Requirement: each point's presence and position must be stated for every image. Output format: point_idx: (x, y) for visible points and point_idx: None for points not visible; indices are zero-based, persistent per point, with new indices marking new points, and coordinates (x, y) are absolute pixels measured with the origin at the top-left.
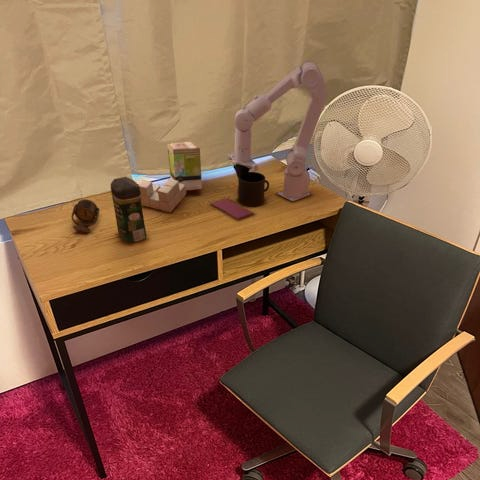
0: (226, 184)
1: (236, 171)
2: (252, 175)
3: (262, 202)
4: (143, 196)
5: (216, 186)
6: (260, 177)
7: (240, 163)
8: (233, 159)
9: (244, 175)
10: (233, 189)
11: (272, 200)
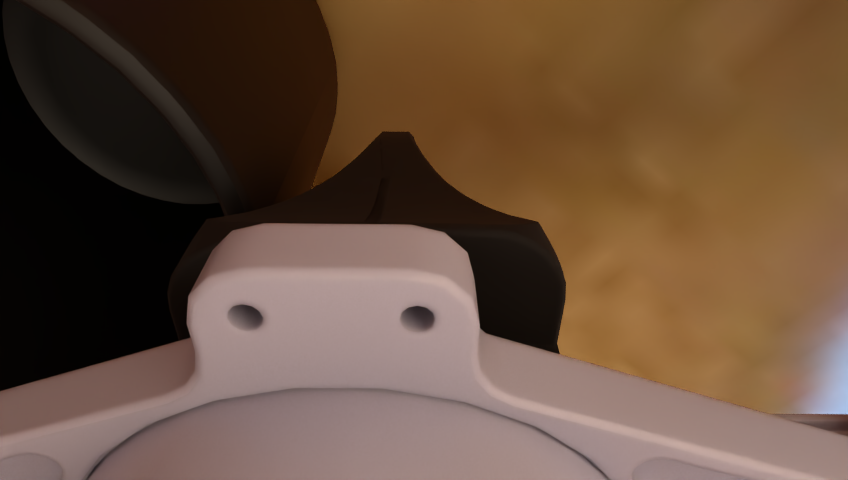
0: (744, 146)
1: (438, 204)
2: None
3: (28, 131)
4: None
5: (828, 2)
6: None
7: (130, 382)
8: (599, 411)
9: None
10: (579, 120)
11: None
